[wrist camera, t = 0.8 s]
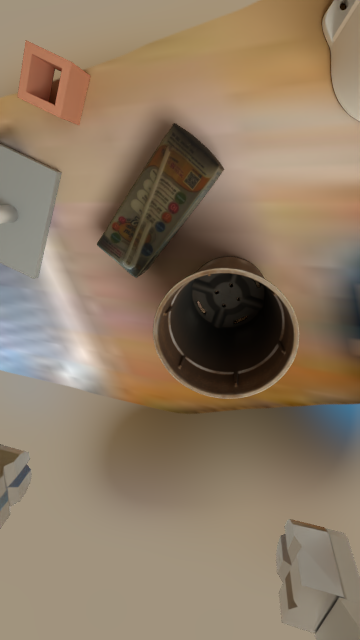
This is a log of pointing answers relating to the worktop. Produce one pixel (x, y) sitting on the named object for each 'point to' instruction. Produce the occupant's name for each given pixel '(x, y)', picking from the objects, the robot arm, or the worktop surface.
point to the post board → (25, 210)
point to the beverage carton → (160, 200)
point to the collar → (39, 83)
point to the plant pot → (226, 331)
